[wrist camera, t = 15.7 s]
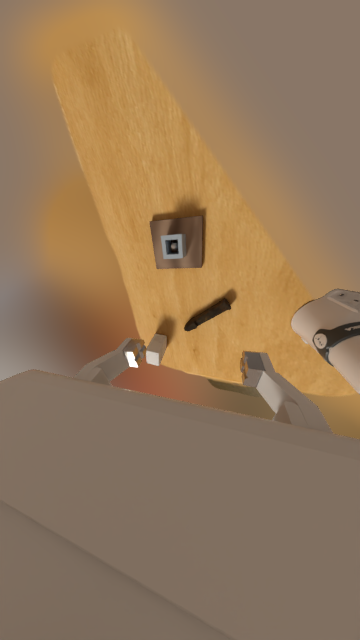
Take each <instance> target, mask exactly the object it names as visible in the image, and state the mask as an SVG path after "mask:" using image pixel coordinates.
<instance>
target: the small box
mask: <svg viewBox="0 0 360 640" xmlns="http://www.w3.org/2000/svg"><path fill="white" fill-rule="evenodd" d="M166 346H167V336H165V335H160V334H155V335H154V337H153V338H152V340H151V342H150V343H149V345H148V347H147V349H146V360H147V363H149V364H153V365H157V366H159V365H160V363H161V360H162V358H163V355H164V353H165V350H166Z"/></svg>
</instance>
